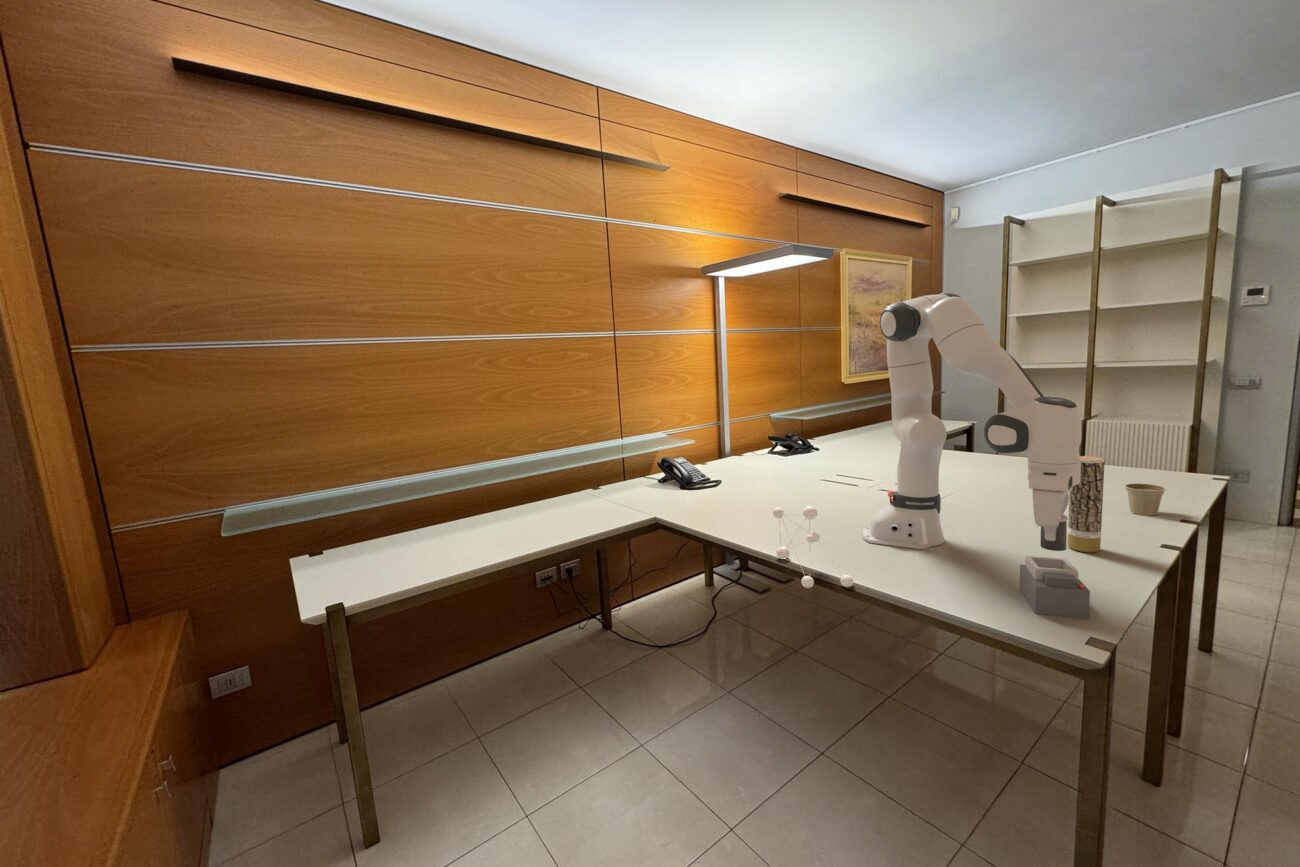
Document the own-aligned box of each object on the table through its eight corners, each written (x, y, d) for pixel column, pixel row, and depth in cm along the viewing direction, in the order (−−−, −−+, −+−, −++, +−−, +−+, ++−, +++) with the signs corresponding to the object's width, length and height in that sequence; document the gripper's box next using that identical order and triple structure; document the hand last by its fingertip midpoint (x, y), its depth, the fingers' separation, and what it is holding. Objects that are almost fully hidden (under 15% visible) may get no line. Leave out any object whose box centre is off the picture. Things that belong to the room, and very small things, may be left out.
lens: (1038, 548, 110) (1038, 517, 109) (1041, 542, 113) (1041, 511, 112) (1065, 552, 107) (1066, 520, 106) (1068, 545, 110) (1068, 514, 109)
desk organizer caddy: (1088, 618, 103) (1090, 579, 102) (1035, 613, 107) (1036, 575, 106) (1067, 593, 114) (1068, 557, 113) (1019, 589, 118) (1020, 554, 116)
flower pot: (1137, 518, 157) (1139, 490, 156) (1115, 509, 166) (1117, 483, 165) (1173, 517, 156) (1174, 490, 155) (1148, 508, 165) (1150, 482, 164)
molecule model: (800, 559, 149) (814, 500, 147) (851, 599, 124) (869, 530, 122) (757, 554, 145) (771, 494, 143) (800, 594, 121) (818, 522, 119)
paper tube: (1106, 553, 133) (1111, 460, 130) (1076, 553, 135) (1080, 461, 131) (1089, 544, 140) (1093, 455, 137) (1061, 544, 141) (1065, 456, 138)
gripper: (1042, 463, 117) (1041, 520, 119) (1027, 482, 103) (1026, 547, 105) (1077, 465, 113) (1076, 524, 115) (1067, 485, 99) (1065, 553, 100)
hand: (1052, 535), depth 110 cm, fingers closed on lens, 4 cm apart
